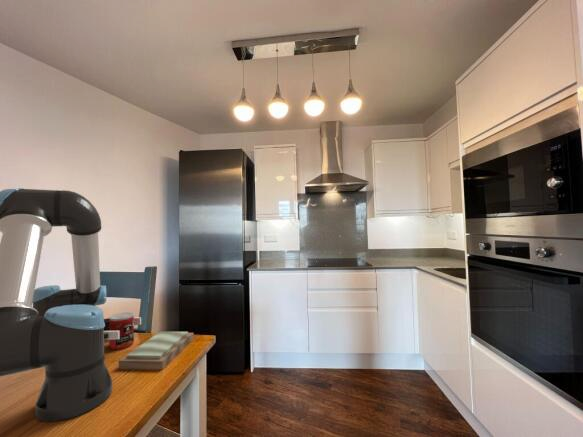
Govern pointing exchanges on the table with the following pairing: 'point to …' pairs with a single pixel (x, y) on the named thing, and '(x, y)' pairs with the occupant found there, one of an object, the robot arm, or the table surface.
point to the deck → (157, 351)
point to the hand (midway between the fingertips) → (130, 327)
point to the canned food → (122, 330)
